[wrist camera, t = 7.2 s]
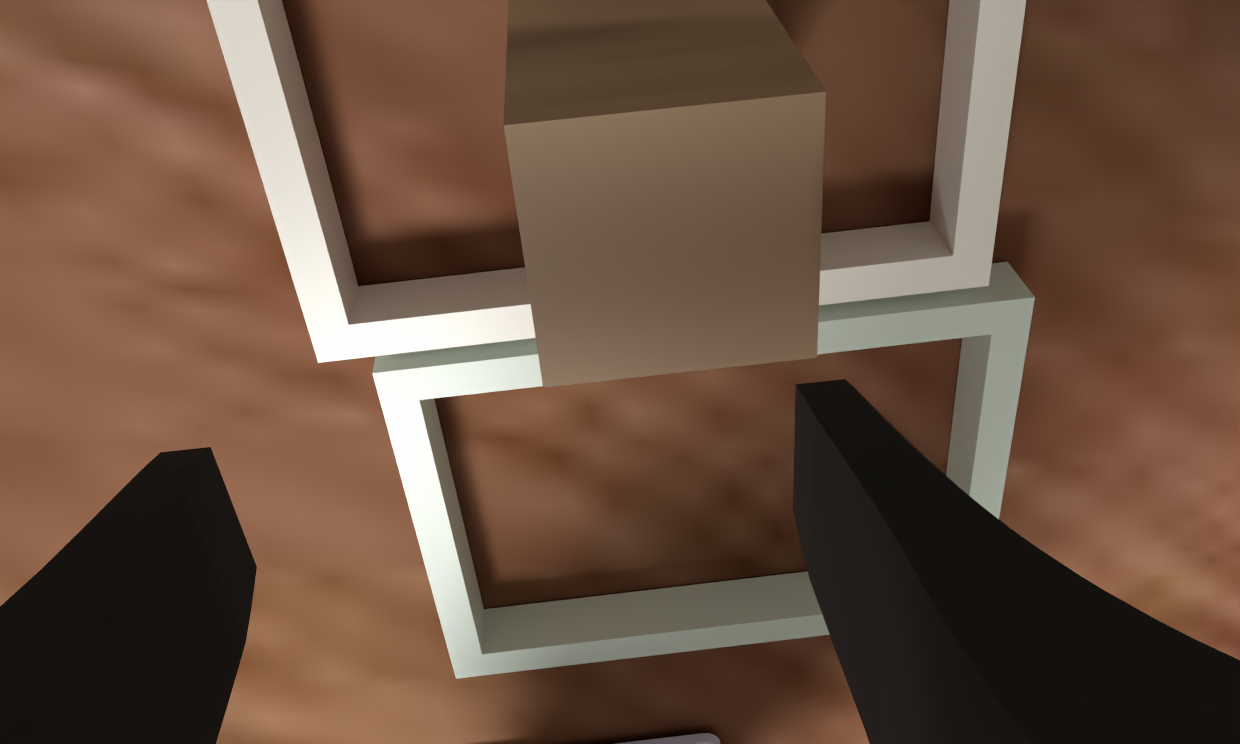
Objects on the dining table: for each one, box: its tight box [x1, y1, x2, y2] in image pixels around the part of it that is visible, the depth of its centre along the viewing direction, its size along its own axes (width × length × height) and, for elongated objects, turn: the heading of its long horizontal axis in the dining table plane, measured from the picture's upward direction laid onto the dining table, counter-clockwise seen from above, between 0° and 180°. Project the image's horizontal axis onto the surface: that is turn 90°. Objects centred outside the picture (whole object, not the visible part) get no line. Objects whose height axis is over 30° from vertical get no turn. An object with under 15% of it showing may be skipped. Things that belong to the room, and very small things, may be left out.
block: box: [504, 0, 826, 387], centre depth 17 cm, size 4×4×7 cm
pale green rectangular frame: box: [372, 262, 1035, 679], centre depth 25 cm, size 10×14×2 cm
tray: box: [207, 0, 1026, 363], centre depth 19 cm, size 10×14×2 cm
